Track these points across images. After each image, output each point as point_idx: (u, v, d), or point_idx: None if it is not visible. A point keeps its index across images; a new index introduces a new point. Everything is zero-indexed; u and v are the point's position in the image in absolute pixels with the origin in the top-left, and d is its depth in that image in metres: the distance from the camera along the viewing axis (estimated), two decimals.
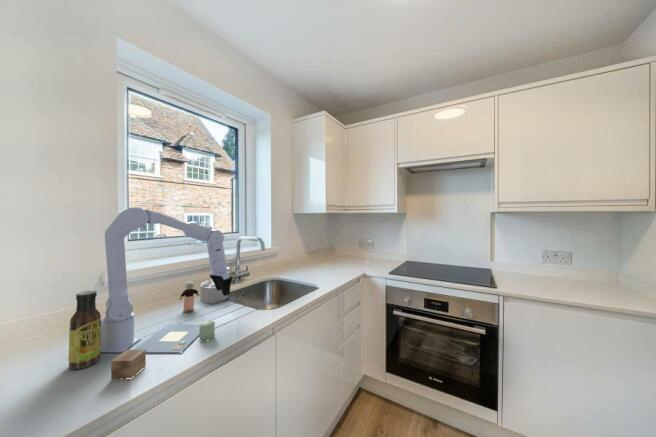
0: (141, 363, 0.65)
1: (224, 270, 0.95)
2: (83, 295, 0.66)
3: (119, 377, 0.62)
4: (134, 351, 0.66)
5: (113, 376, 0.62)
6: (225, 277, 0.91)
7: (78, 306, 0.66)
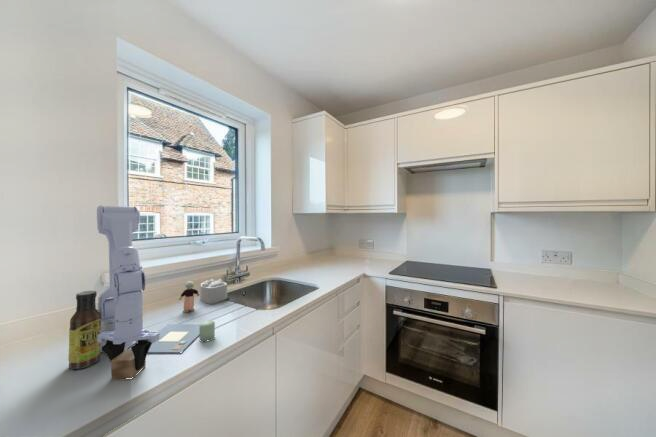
0: None
1: (115, 334, 0.63)
2: (83, 295, 0.66)
3: (119, 377, 0.62)
4: None
5: (113, 376, 0.62)
6: None
7: (78, 306, 0.66)
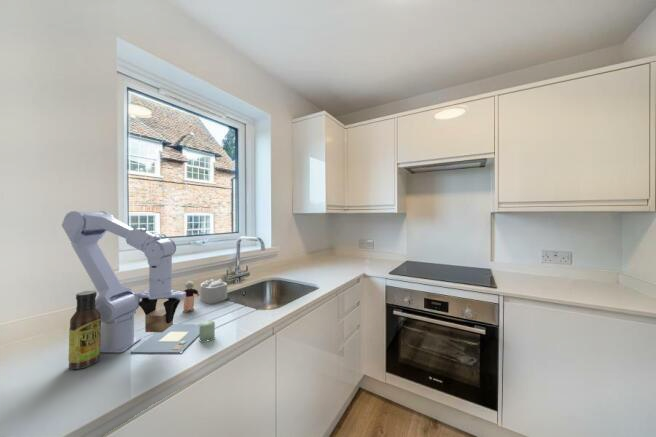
0: None
1: (149, 293, 0.74)
2: (83, 295, 0.66)
3: (152, 329, 0.73)
4: (163, 310, 0.77)
5: (147, 328, 0.73)
6: None
7: (78, 306, 0.66)
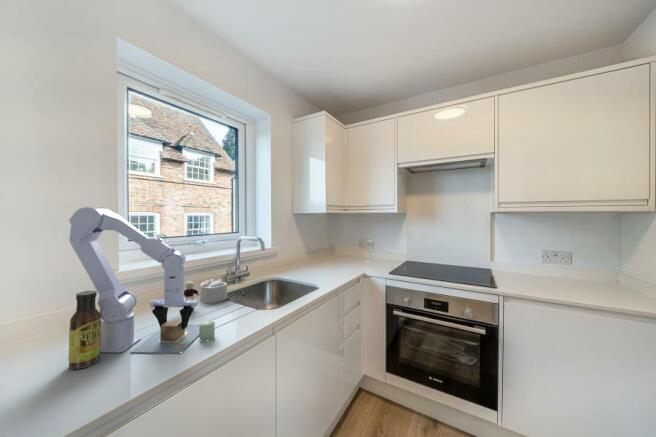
0: (182, 329, 0.83)
1: (164, 301, 0.81)
2: (83, 295, 0.66)
3: (166, 339, 0.79)
4: (176, 320, 0.83)
5: (162, 338, 0.79)
6: None
7: (78, 306, 0.66)
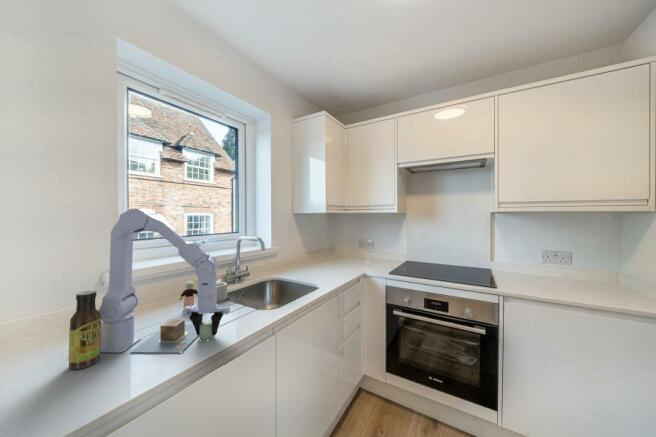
0: (182, 329, 0.83)
1: (197, 307, 0.81)
2: (83, 295, 0.66)
3: (166, 339, 0.79)
4: (176, 320, 0.83)
5: (162, 338, 0.79)
6: None
7: (78, 306, 0.66)
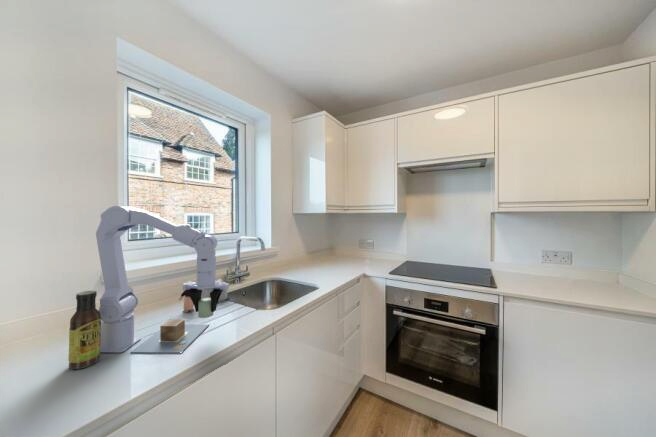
0: (182, 329, 0.83)
1: (196, 284, 0.81)
2: (83, 295, 0.66)
3: (166, 339, 0.79)
4: (176, 320, 0.83)
5: (162, 338, 0.79)
6: None
7: (78, 306, 0.66)
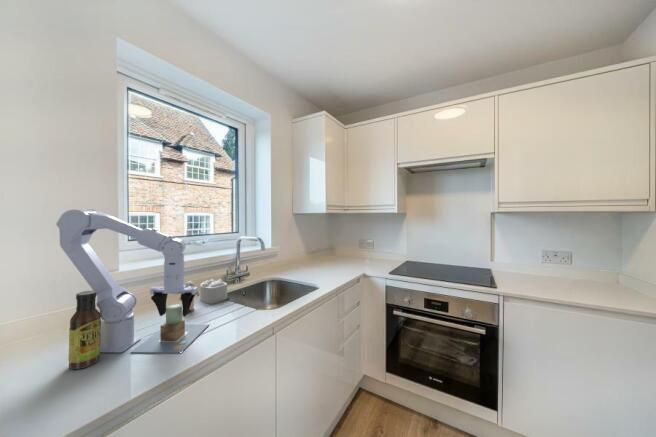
0: (182, 329, 0.83)
1: (164, 288, 0.81)
2: (83, 295, 0.66)
3: (166, 339, 0.79)
4: None
5: (162, 338, 0.79)
6: None
7: (78, 306, 0.66)
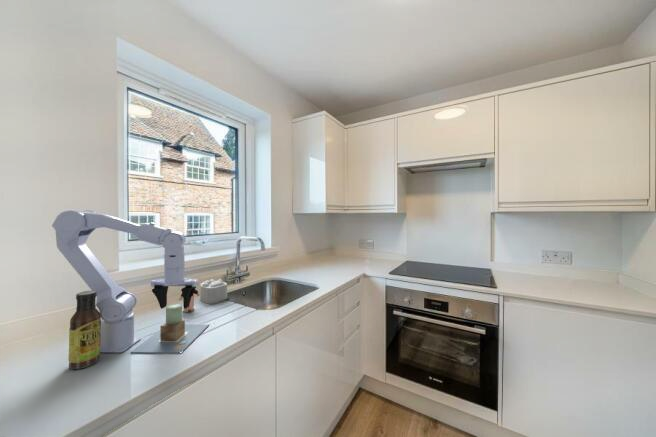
0: (182, 329, 0.83)
1: (164, 280, 0.81)
2: (83, 295, 0.66)
3: (166, 339, 0.79)
4: None
5: (162, 338, 0.79)
6: None
7: (78, 306, 0.66)
